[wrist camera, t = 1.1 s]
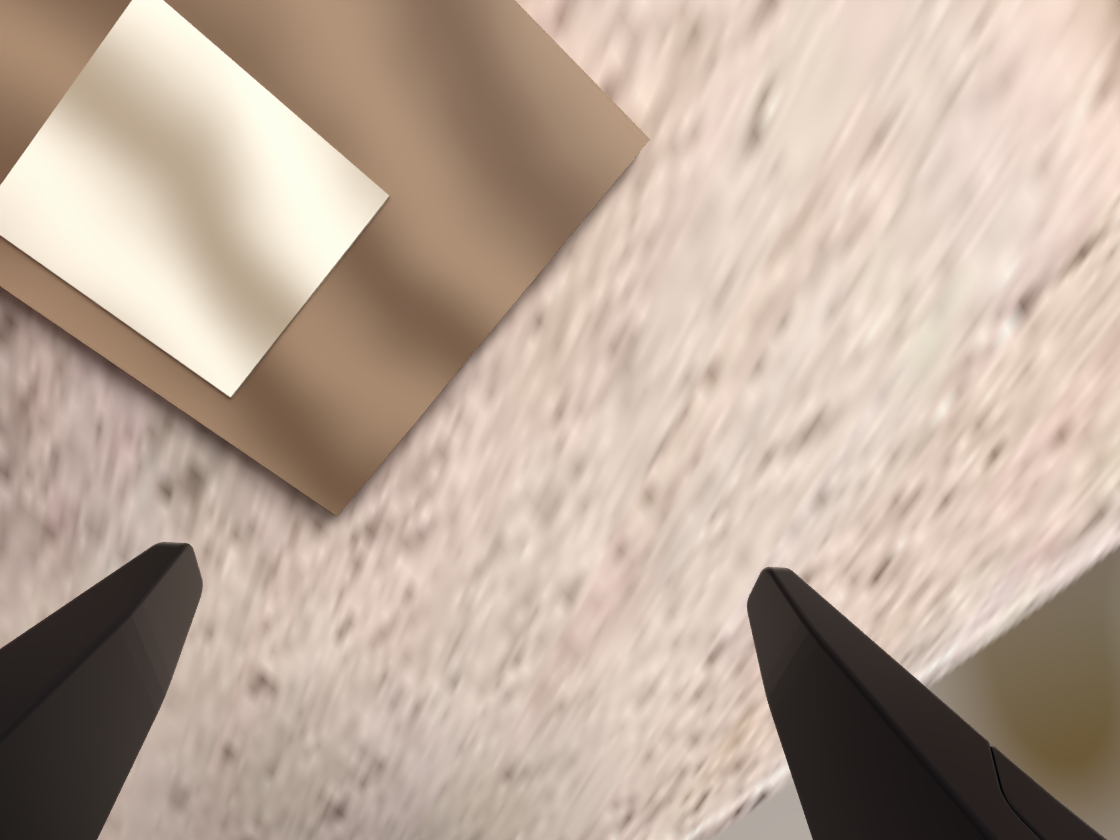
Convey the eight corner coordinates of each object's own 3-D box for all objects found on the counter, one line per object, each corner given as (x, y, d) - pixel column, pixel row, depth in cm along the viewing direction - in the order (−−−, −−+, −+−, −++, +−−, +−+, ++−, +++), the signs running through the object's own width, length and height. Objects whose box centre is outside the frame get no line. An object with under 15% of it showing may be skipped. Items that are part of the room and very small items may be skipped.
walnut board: (344, 505, 23) (336, 518, 22) (-184, 139, 18) (-238, 127, 17) (640, 147, 21) (651, 138, 20) (148, -356, 17) (117, -413, 15)
